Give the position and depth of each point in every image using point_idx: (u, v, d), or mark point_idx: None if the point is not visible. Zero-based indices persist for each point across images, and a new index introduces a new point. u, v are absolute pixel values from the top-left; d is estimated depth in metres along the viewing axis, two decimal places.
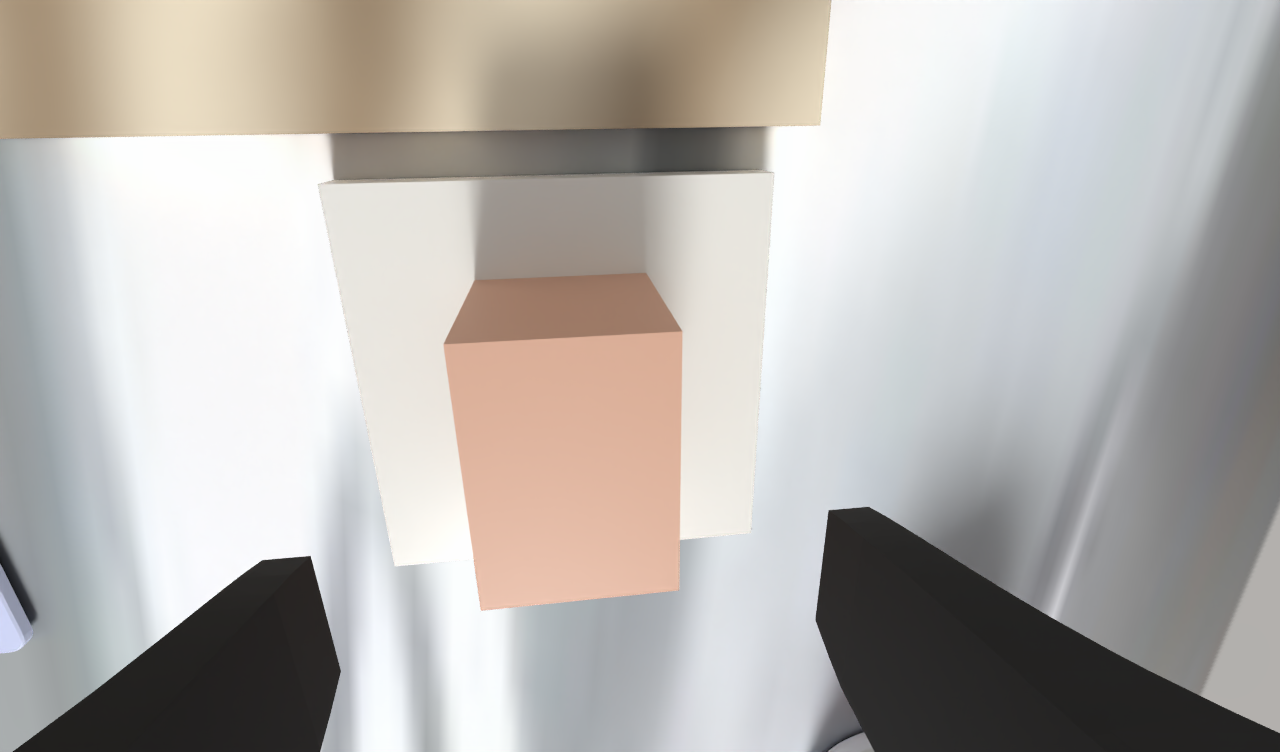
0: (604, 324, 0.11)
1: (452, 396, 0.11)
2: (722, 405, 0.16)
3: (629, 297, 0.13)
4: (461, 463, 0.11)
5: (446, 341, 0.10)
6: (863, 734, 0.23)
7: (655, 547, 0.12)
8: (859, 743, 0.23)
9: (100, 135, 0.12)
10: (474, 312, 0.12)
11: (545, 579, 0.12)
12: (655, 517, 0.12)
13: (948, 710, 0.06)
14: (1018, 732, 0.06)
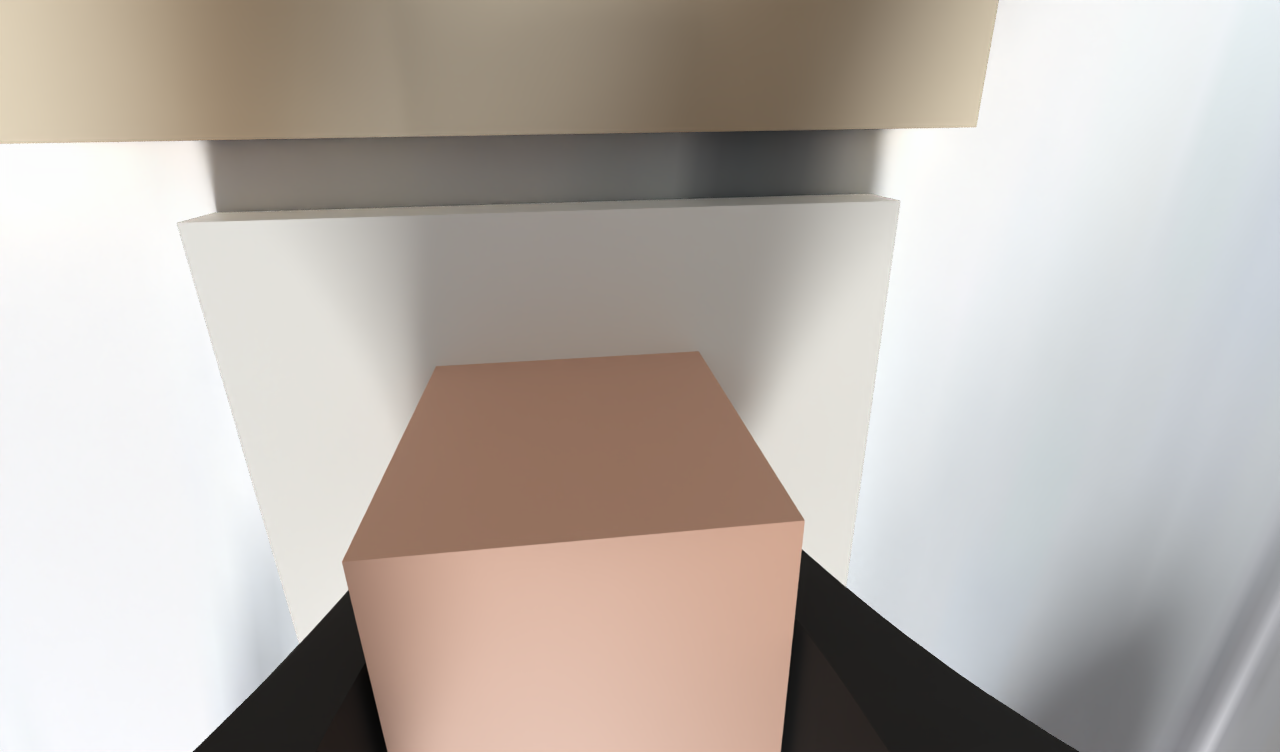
0: (651, 492, 0.06)
1: (367, 641, 0.06)
2: None
3: (684, 412, 0.08)
4: (391, 743, 0.06)
5: (350, 551, 0.05)
6: None
7: None
8: None
9: None
10: (421, 452, 0.07)
11: None
12: None
13: (806, 727, 0.06)
14: None
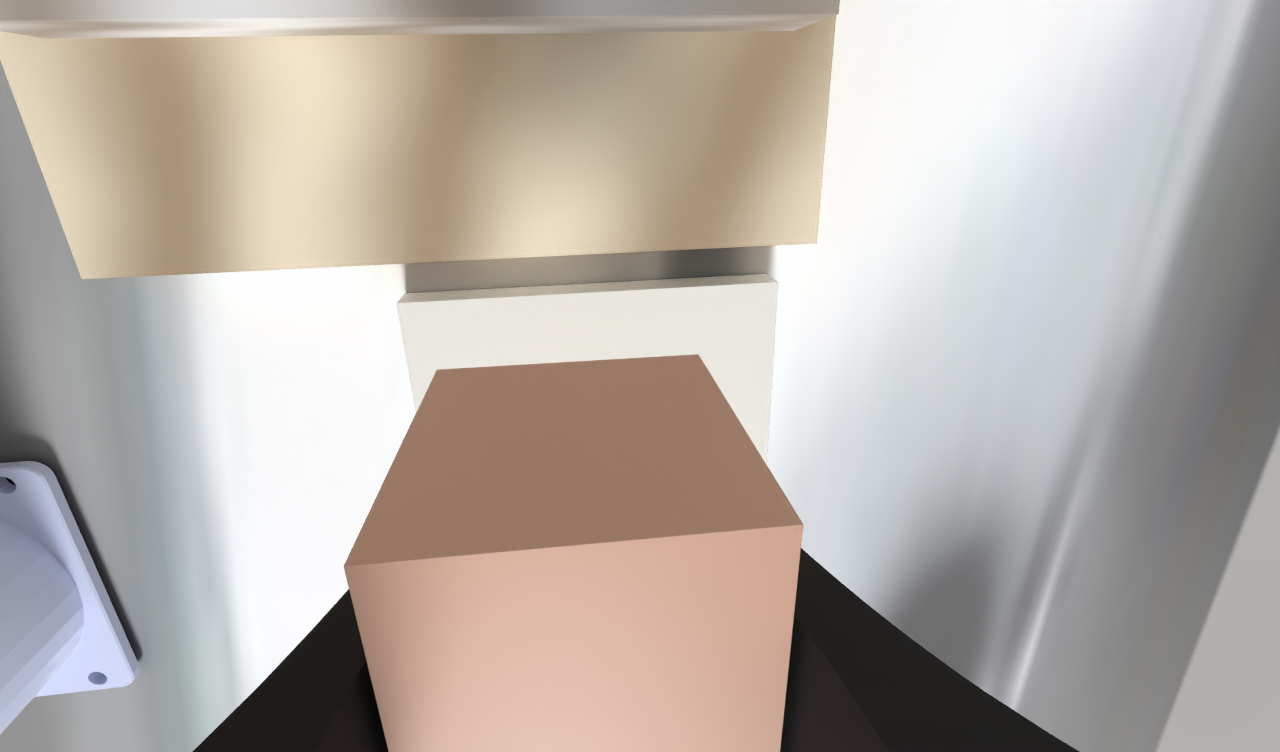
0: (651, 497, 0.06)
1: (368, 646, 0.06)
2: None
3: (684, 416, 0.08)
4: (392, 745, 0.06)
5: (351, 555, 0.05)
6: None
7: None
8: None
9: (221, 270, 0.15)
10: (422, 456, 0.07)
11: None
12: None
13: (806, 728, 0.06)
14: None
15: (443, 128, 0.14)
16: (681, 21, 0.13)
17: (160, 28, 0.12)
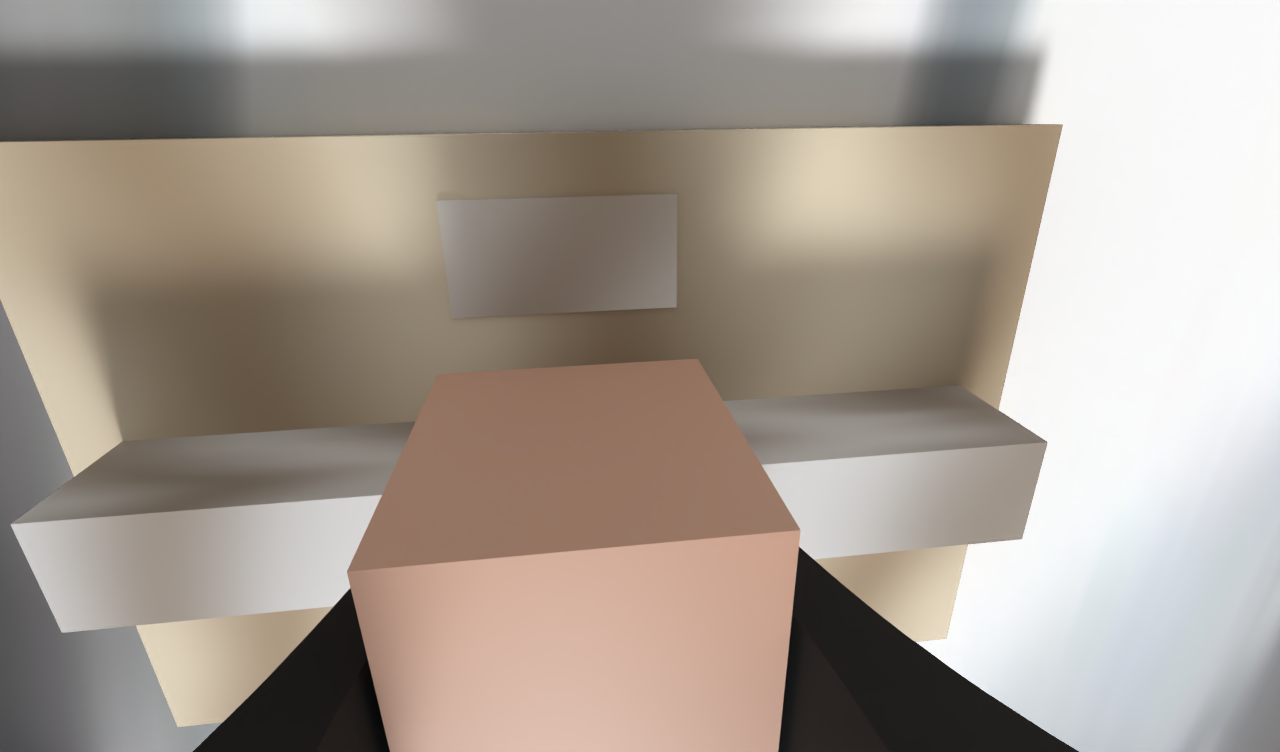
0: (650, 501, 0.06)
1: (370, 649, 0.06)
2: None
3: (682, 421, 0.08)
4: (395, 748, 0.06)
5: (354, 561, 0.05)
6: None
7: None
8: None
9: None
10: (424, 461, 0.07)
11: None
12: None
13: (806, 728, 0.06)
14: None
15: None
16: None
17: None
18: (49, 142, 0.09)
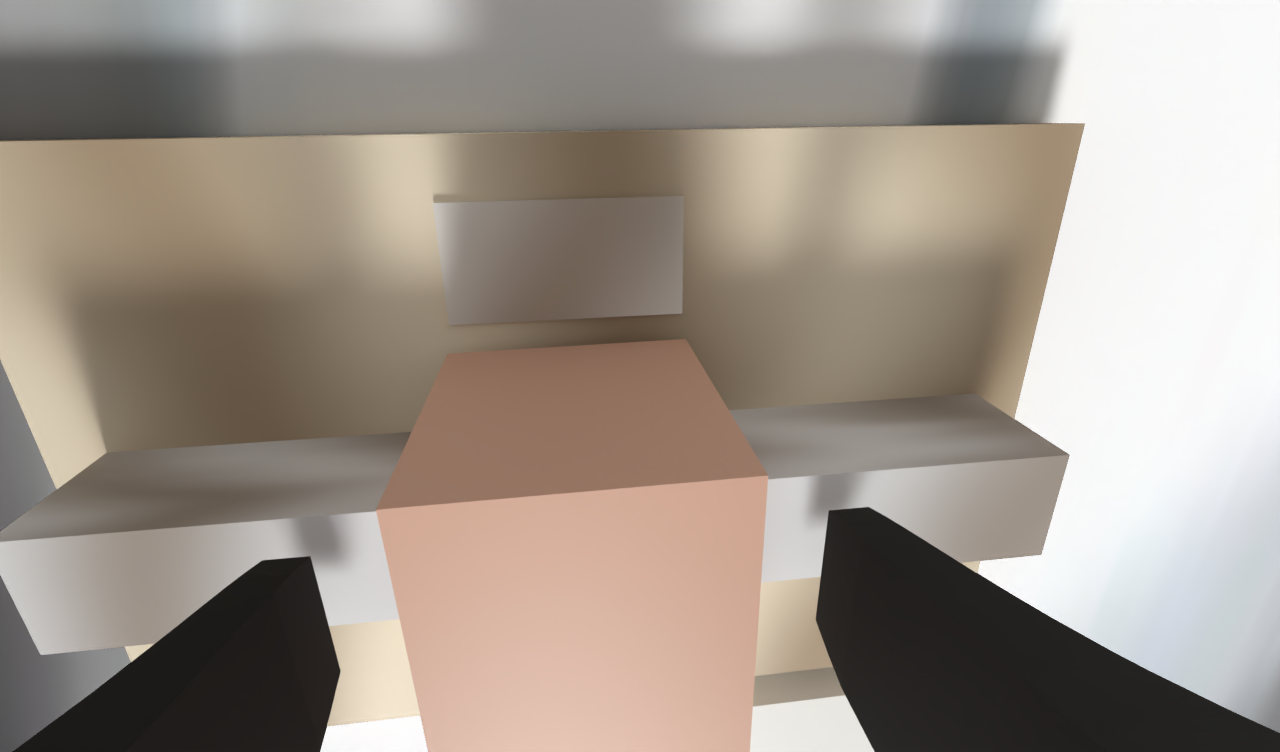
0: (639, 454, 0.07)
1: (395, 581, 0.07)
2: None
3: (670, 391, 0.09)
4: (416, 673, 0.07)
5: (382, 501, 0.06)
6: None
7: None
8: None
9: None
10: (438, 424, 0.08)
11: None
12: (714, 733, 0.08)
13: (949, 710, 0.06)
14: (1018, 732, 0.06)
15: None
16: None
17: None
18: (26, 142, 0.09)
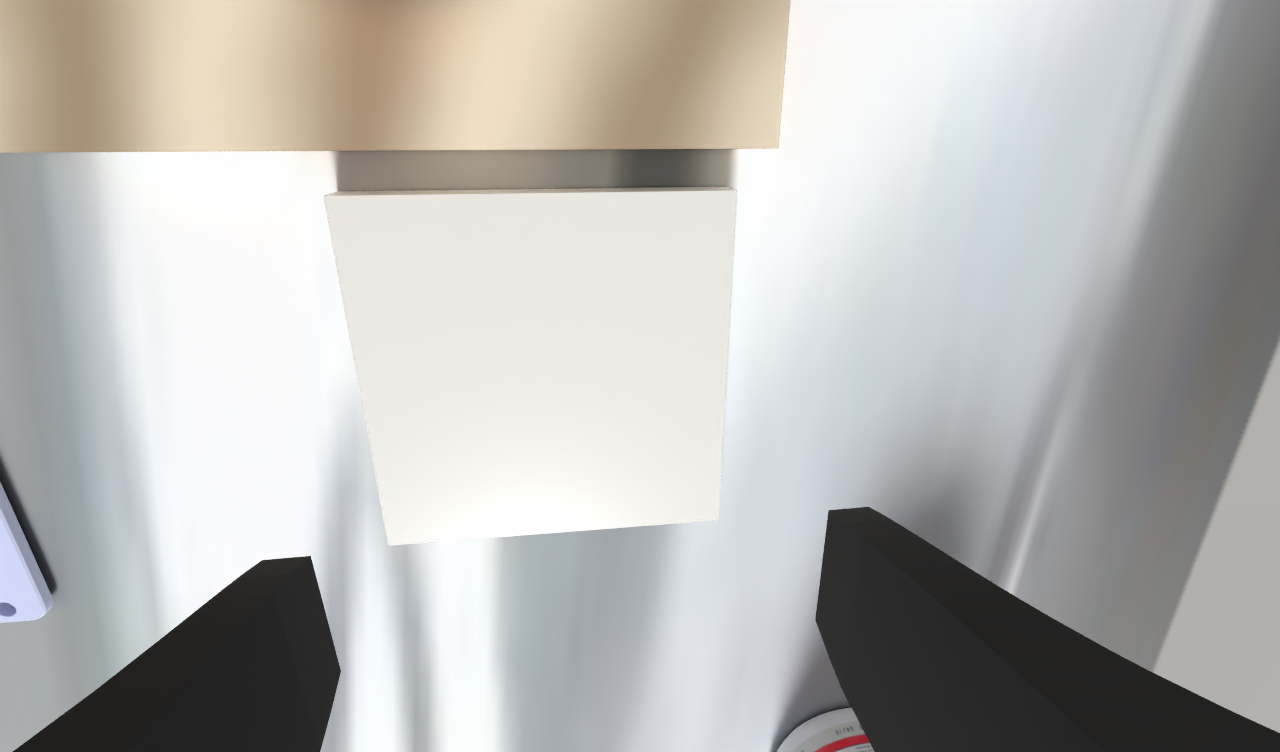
0: None
1: None
2: (691, 401, 0.18)
3: None
4: None
5: None
6: (827, 713, 0.25)
7: None
8: (823, 722, 0.24)
9: (129, 150, 0.14)
10: None
11: None
12: None
13: (948, 709, 0.06)
14: (1018, 732, 0.06)
15: None
16: None
17: None
18: None
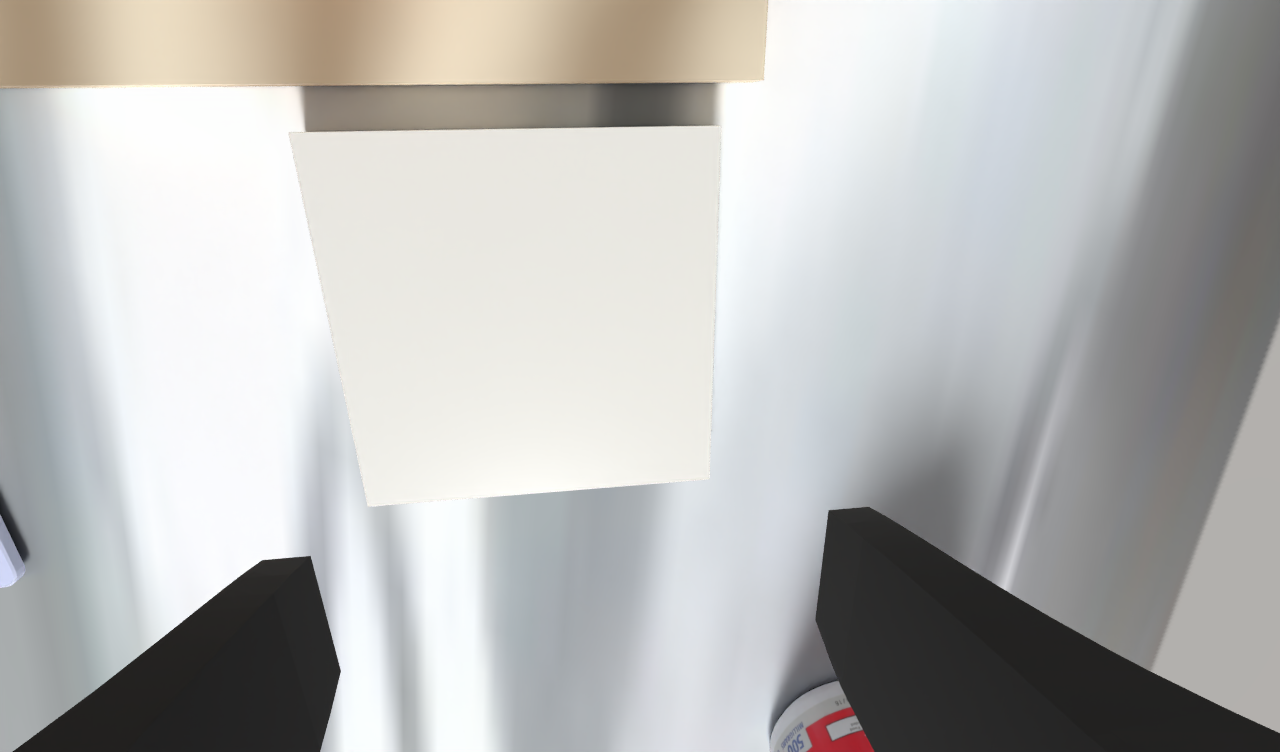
0: None
1: None
2: (678, 352, 0.17)
3: None
4: None
5: None
6: (827, 685, 0.24)
7: None
8: (822, 693, 0.24)
9: (84, 83, 0.13)
10: None
11: None
12: None
13: (949, 711, 0.06)
14: (1018, 732, 0.06)
15: None
16: None
17: None
18: None
